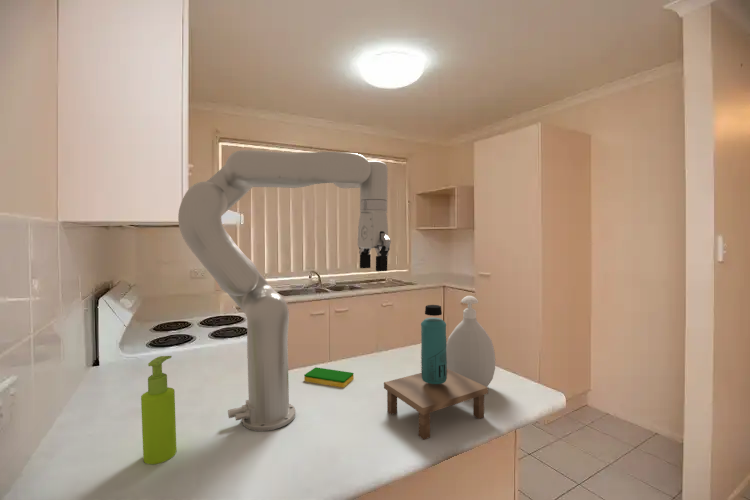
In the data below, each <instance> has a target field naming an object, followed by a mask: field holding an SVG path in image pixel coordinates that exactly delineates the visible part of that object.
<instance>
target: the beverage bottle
mask: <svg viewBox="0 0 750 500" xmlns="http://www.w3.org/2000/svg"><path fill="white" fill-rule="evenodd" d="M442 313H443V312H442V306H441V305H439V304H427V305H426V306H425V310H424V314H425V315H427V316H429V317H426V318H424V320H422V321H421V323H420V328H421V329H420V330H421V331H420V332H421V333H420V334H421V335H420V336H421V339H420V341H421V345H420V347H421V349H420V350H421V351H420V359H421V360H420V364H421V365H420V369H421V373H422V375H421V376H422V380H423V381H424V382H426V383H430V384H441V383H444V382H445V381H446V379H447V358H446V346H447V323H446V321H444V320H443V318H440V317H439V316H442ZM430 316H431V317H430ZM436 316H438V317H436Z"/></svg>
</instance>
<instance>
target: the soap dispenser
mask: <svg viewBox="0 0 750 500" xmlns="http://www.w3.org/2000/svg"><path fill="white" fill-rule="evenodd" d="M171 358H172V355H159V356H157V357H155V358H154V359H152V360H150V362H148V364H147V365H148V367H151V368H152V374H151V375H149V376H148V377H147V391H146V392H144V393H142V394H141V396H140V405H141V409H140V410H141V426H142V427H141V429H142V431H141V432H142V454H143V458H142V459H143V462H144V463H145V464H147V465H157V464H162V463H164V462H167V461H169V460H170V459H172V458H173V457H175V455H176V454H177V429H176V427H177V423H176V421H177V420H176V398H175V397H176V395H175V392H176V391H175V389H174V388H173V387H169V386H168V375H167V374H166V373H164V372H163V363H164V362H165V361H167V360H170V359H171Z"/></svg>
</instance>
